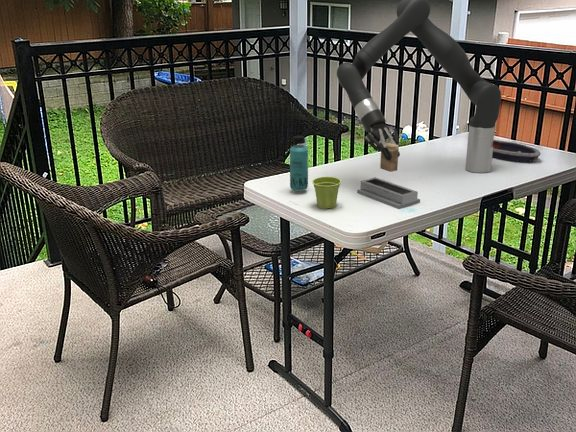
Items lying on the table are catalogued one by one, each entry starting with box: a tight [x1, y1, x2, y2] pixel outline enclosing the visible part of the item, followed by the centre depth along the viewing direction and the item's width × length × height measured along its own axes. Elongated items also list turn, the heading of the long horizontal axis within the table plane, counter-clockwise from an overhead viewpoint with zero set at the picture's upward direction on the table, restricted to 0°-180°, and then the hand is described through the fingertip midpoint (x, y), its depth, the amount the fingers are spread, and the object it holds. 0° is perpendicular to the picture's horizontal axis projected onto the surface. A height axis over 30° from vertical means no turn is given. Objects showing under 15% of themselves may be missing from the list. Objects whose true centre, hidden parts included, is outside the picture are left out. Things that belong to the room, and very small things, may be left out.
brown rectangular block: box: [379, 142, 400, 173], centre depth 198 cm, size 3×5×8 cm, turn 36°
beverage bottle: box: [289, 135, 309, 191], centre depth 207 cm, size 6×7×20 cm
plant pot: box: [311, 176, 342, 210], centre depth 195 cm, size 9×9×9 cm
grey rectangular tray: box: [356, 176, 421, 210], centre depth 202 cm, size 10×20×4 cm, turn 36°
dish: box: [492, 139, 542, 163], centre depth 247 cm, size 16×31×5 cm, turn 38°
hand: (393, 157), depth 196 cm, fingers closed on brown rectangular block, 3 cm apart
